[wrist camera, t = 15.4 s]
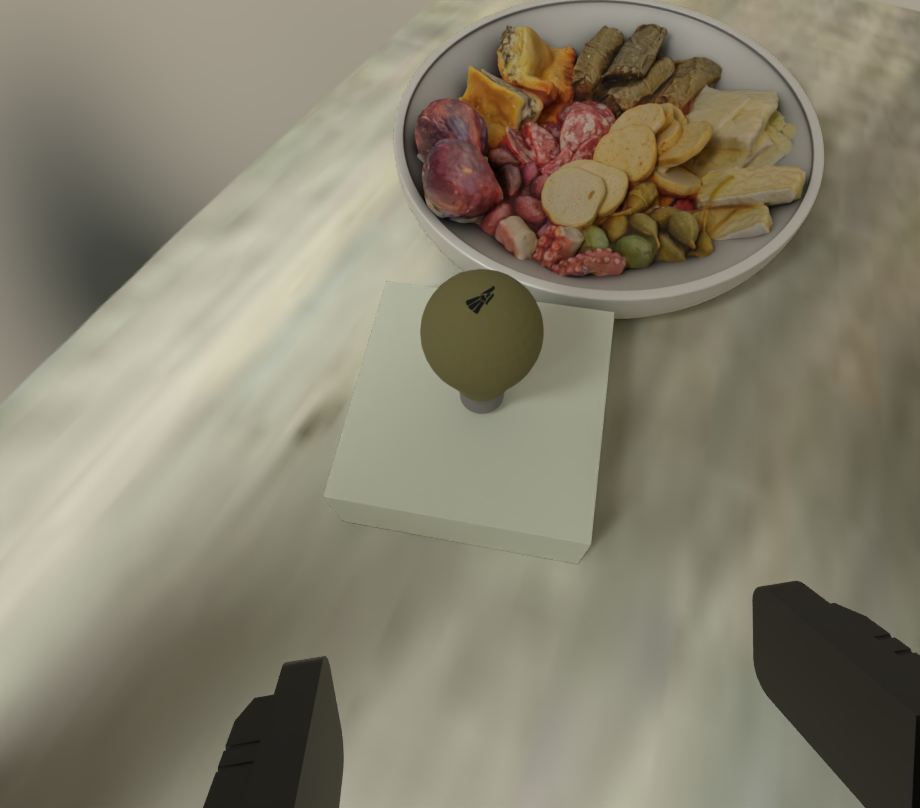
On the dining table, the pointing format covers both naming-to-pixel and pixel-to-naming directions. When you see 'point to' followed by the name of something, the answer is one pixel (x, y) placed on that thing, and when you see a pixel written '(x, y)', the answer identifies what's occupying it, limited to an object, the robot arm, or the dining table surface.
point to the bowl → (608, 153)
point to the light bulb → (481, 335)
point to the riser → (476, 439)
